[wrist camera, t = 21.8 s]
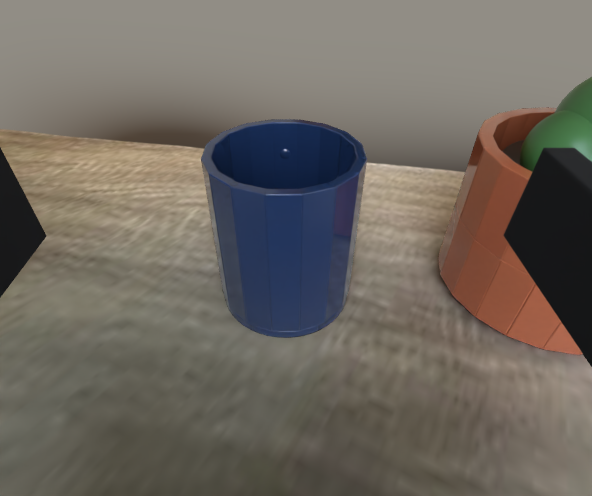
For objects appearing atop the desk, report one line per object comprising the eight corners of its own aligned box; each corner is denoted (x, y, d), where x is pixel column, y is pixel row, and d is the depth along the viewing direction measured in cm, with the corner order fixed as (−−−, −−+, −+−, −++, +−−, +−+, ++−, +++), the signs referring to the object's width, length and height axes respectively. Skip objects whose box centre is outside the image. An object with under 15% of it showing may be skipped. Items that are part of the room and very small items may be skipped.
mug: (354, 337, 23) (379, 194, 17) (216, 338, 23) (187, 194, 17) (336, 221, 32) (347, 98, 26) (236, 221, 32) (222, 98, 25)
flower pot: (415, 311, 25) (459, 171, 18) (455, 216, 33) (495, 95, 26) (642, 399, 20) (807, 255, 14) (624, 263, 28) (722, 132, 22)
